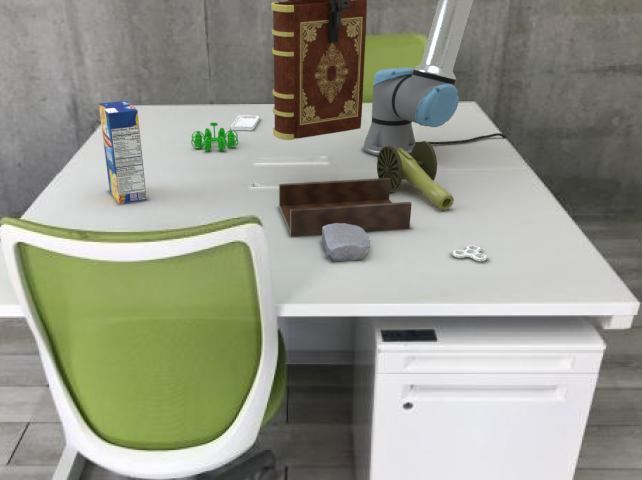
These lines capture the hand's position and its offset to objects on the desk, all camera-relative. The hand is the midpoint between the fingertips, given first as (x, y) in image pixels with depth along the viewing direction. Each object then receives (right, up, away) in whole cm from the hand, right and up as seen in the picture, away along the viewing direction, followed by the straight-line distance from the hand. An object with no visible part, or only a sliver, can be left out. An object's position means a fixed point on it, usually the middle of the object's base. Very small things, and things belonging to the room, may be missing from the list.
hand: (317, 40), depth 171 cm
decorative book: (0, -19, +11) cm, 22 cm away
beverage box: (-47, -34, +13) cm, 60 cm away
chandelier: (-28, -12, +50) cm, 58 cm away
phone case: (-20, +1, +71) cm, 74 cm away
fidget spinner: (+30, -53, -21) cm, 65 cm away
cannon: (+26, -35, +11) cm, 45 cm away
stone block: (+5, -52, -18) cm, 55 cm away
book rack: (+6, -42, -2) cm, 43 cm away
